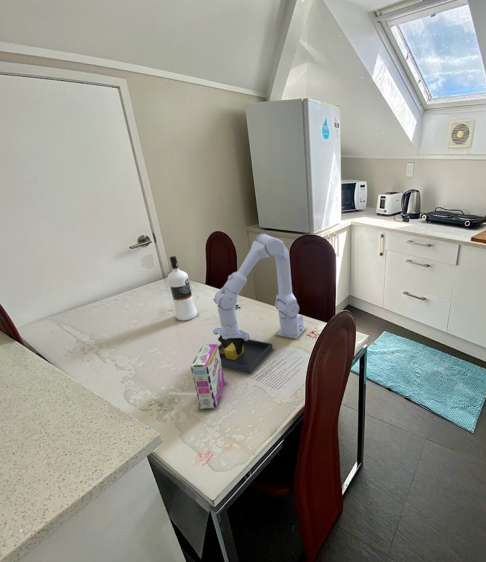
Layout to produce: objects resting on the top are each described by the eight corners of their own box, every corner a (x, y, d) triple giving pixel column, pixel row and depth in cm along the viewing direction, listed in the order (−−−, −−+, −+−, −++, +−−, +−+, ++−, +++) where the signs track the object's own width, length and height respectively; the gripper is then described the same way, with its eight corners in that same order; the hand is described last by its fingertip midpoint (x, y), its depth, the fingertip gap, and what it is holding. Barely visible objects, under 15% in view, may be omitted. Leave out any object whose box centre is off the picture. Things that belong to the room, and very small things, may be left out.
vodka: (184, 310, 153) (170, 252, 141) (201, 312, 151) (188, 253, 139) (172, 320, 145) (155, 259, 132) (190, 322, 143) (175, 260, 131)
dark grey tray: (272, 350, 123) (272, 343, 121) (250, 374, 109) (249, 368, 108) (231, 341, 128) (230, 335, 127) (206, 364, 115) (204, 357, 114)
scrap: (232, 350, 122) (231, 347, 121) (227, 356, 118) (227, 354, 118) (222, 349, 122) (222, 347, 122) (217, 356, 119) (217, 353, 118)
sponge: (244, 351, 121) (242, 342, 120) (234, 360, 116) (233, 351, 114) (235, 349, 122) (233, 340, 121) (225, 358, 117) (224, 349, 116)
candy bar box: (217, 409, 95) (207, 365, 89) (200, 410, 95) (189, 366, 88) (226, 383, 106) (218, 343, 99) (211, 384, 105) (202, 344, 99)
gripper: (205, 324, 112) (211, 355, 117) (239, 330, 108) (244, 362, 113) (217, 314, 118) (223, 344, 124) (250, 320, 114) (255, 351, 119)
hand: (234, 352), depth 119 cm, fingers closed on sponge, 4 cm apart
